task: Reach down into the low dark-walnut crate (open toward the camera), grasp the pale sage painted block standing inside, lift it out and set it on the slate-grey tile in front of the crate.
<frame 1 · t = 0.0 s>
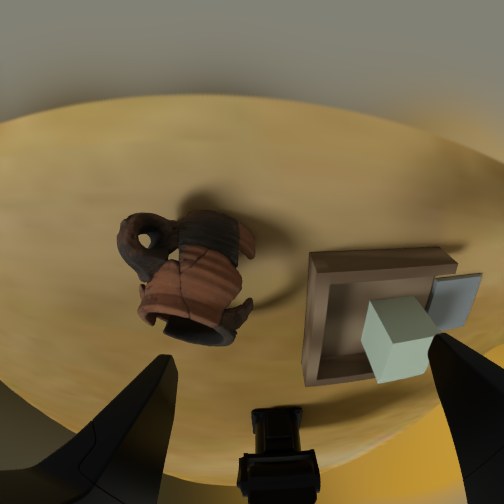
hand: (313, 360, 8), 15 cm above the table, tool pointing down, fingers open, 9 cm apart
walnut crate: (370, 310, 26), on the table
pottery mug: (194, 254, 24), on the table
slate tile: (450, 303, 26), on the table
sage block: (387, 318, 26), resting on walnut crate
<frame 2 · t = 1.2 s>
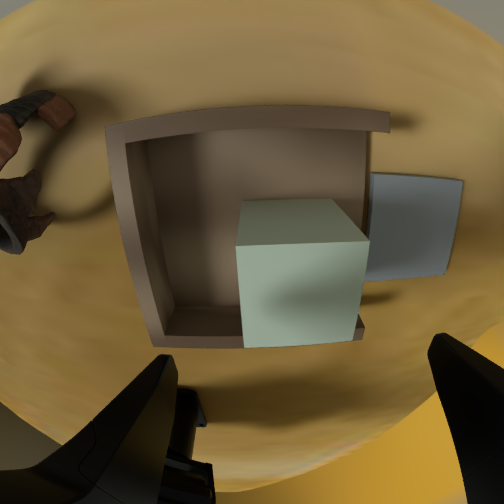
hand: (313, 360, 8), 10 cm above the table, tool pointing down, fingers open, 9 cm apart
walnut crate: (252, 223, 17), on the table
pottery mug: (29, 150, 14), on the table
slate tile: (412, 227, 17), on the table
sage block: (287, 240, 17), resting on walnut crate
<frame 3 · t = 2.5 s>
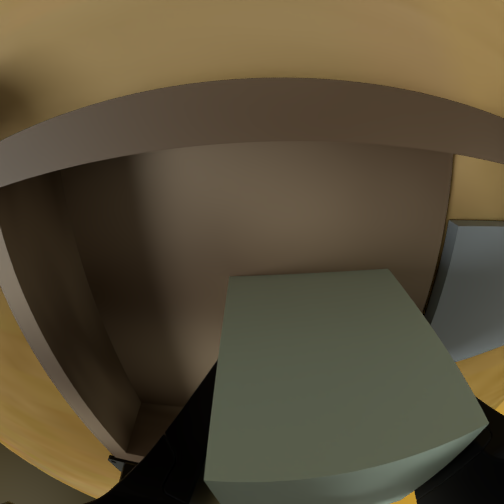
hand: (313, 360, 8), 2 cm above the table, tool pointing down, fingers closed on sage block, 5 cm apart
walnut crate: (249, 308, 9), on the table
slate tile: (484, 294, 9), on the table
sage block: (308, 335, 10), resting on walnut crate, touching gripper
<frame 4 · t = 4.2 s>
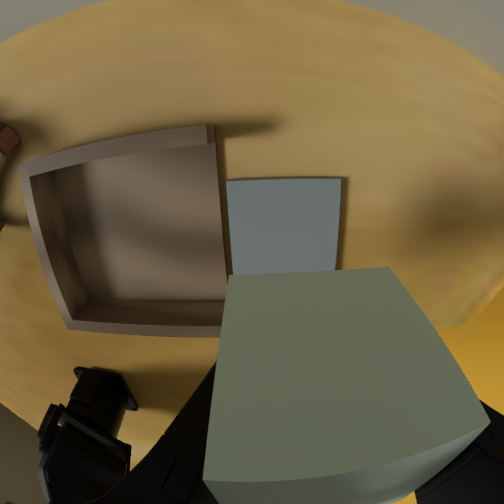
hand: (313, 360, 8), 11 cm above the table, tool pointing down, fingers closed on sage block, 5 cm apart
walnut crate: (131, 230, 19), on the table
slate tile: (284, 230, 19), on the table
sage block: (308, 334, 9), point 10 cm above the table, touching gripper
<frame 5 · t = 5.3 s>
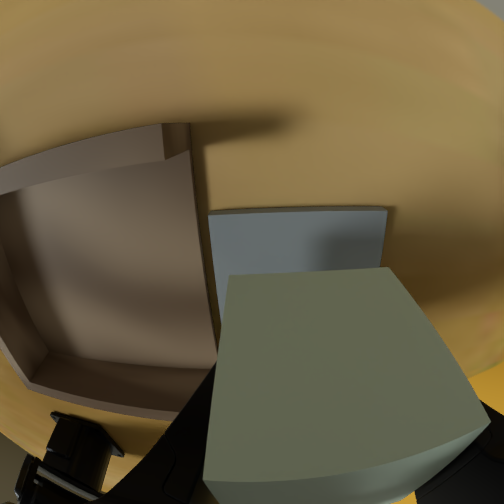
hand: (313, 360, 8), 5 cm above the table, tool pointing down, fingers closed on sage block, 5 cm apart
walnut crate: (83, 279, 13), on the table
slate tile: (298, 284, 12), on the table
sage block: (308, 334, 9), point 3 cm above the table, touching gripper
when the fingers open (3 cm above the table, at t = 6.0 s): sage block drops 1 cm, resting on slate tile.
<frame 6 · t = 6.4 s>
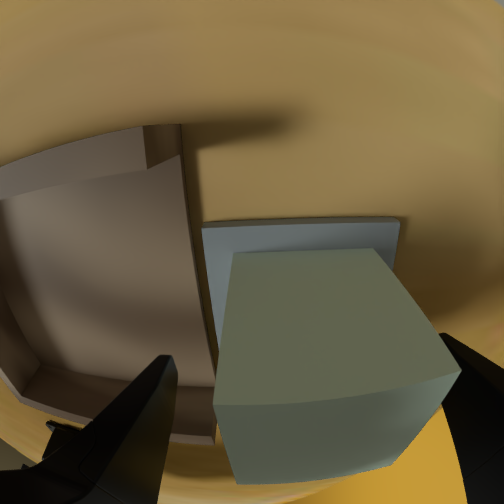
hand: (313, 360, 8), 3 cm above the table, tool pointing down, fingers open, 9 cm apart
walnut crate: (71, 293, 11), on the table
slate tile: (301, 301, 11), on the table
sage block: (302, 309, 11), point 1 cm above the table, touching slate tile
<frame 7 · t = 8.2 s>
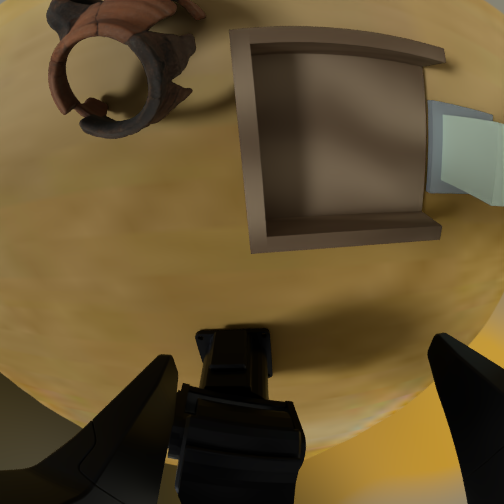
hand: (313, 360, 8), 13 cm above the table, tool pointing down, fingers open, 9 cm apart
walnut crate: (341, 134, 17), on the table
pottery mug: (137, 51, 15), on the table
slate tile: (461, 149, 17), on the table
sage block: (465, 150, 16), point 1 cm above the table, touching slate tile
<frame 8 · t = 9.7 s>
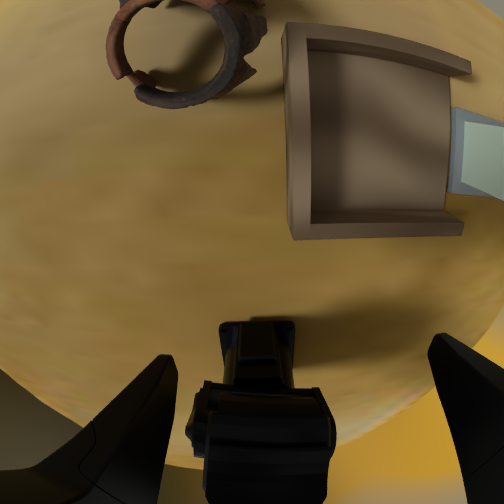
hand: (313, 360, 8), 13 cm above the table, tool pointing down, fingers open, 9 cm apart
walnut crate: (377, 132, 17), on the table
pottery mug: (190, 30, 14), on the table
slate tile: (478, 154, 17), on the table
sage block: (482, 155, 17), point 1 cm above the table, touching slate tile
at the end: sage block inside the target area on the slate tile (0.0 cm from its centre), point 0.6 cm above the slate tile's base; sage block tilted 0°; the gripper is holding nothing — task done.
